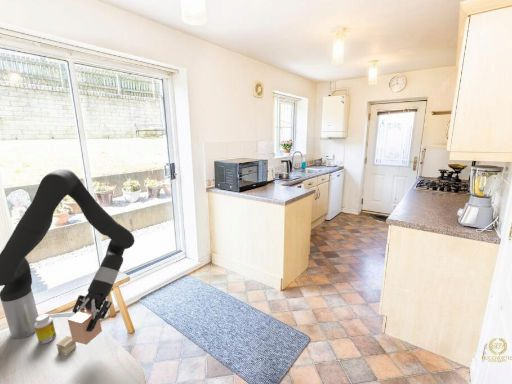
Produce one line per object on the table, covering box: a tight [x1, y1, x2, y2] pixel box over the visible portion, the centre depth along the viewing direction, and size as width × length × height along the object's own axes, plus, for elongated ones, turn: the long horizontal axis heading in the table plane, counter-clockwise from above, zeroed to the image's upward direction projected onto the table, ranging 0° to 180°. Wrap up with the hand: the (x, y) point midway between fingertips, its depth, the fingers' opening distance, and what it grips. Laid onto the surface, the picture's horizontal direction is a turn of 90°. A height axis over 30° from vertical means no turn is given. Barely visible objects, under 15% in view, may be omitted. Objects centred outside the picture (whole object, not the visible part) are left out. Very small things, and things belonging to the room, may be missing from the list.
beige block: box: [56, 335, 77, 355], centre depth 96 cm, size 4×4×4 cm
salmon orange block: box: [67, 308, 103, 346], centre depth 91 cm, size 6×6×9 cm
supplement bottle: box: [34, 313, 57, 344], centre depth 101 cm, size 6×6×10 cm
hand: (81, 329), depth 90 cm, fingers closed on salmon orange block, 6 cm apart
